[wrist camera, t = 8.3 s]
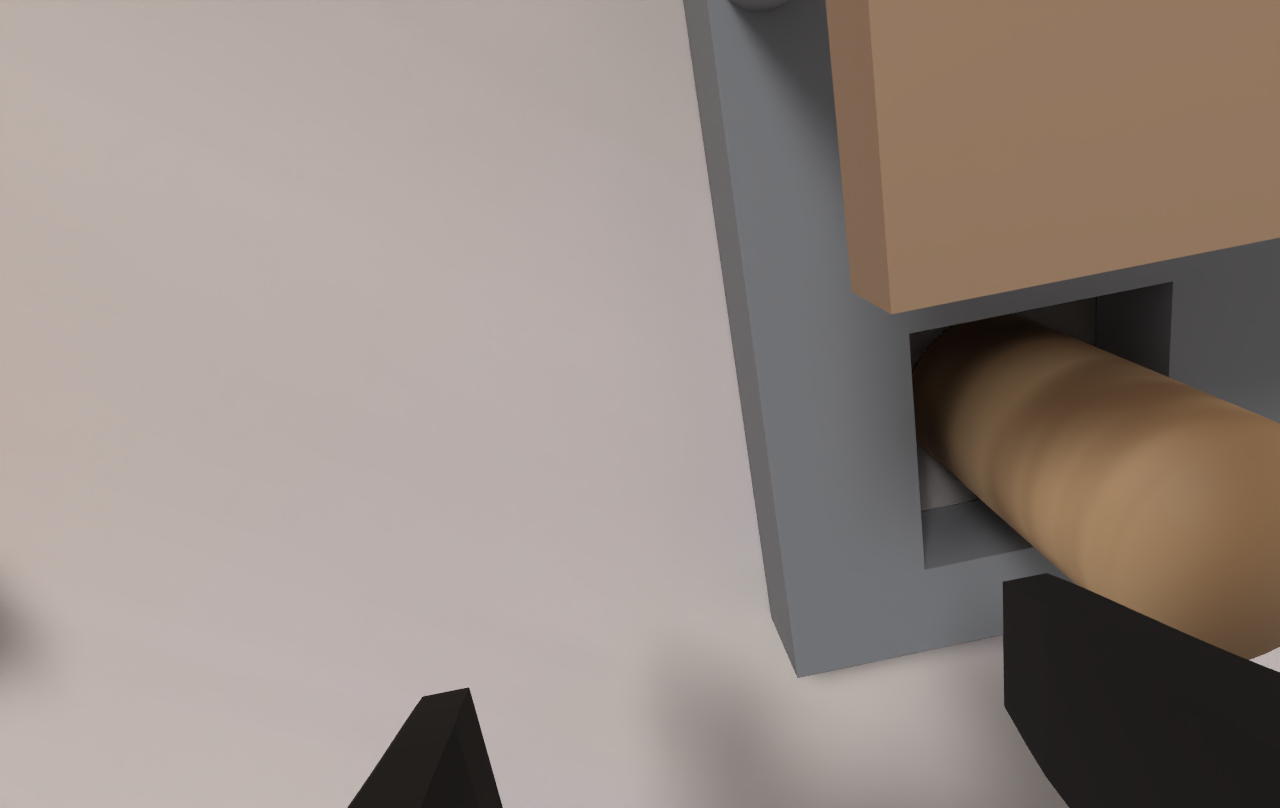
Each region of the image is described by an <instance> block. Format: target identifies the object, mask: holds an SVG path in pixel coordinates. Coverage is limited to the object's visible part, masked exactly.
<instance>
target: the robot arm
mask: <svg viewBox="0 0 1280 808" xmlns="http://www.w3.org/2000/svg"><path fill="white" fill-rule="evenodd" d="M1003 647H1004V706H1005V708H1006V710H1007V712H1008V713H1009V715H1010V717H1011V719H1012V720H1013V722H1014V724H1015V726H1016V727H1017V729H1018V731H1019V733H1020V734H1021V736H1022V738H1023V740H1024V741H1025V743H1026V745H1027V746H1028V748H1029V750H1030V751H1031V753H1032V755H1033V756H1034V758H1035V759H1036V761H1037V763H1038V764H1039V766H1040V768H1041V769H1042V771H1043V773H1044V774H1045V776H1046V777H1047V778H1048V780H1049V781H1050V783H1051V784H1052V785H1053V787H1054V788H1055V789H1056V791H1057V792H1058V793H1059V795H1060V796H1061V797H1062V799H1063V800H1064V801H1065V802H1066V804H1067V805H1068V806H1069V808H1280V672H1277V671H1274V670H1272V669H1269V668H1267V667H1264V666H1262V665H1259V664H1257V663H1254V662H1252V661H1249V660H1247V659H1245V658H1242V657H1240V656H1237V655H1235V654H1233V653H1230V652H1228V651H1225V650H1223V649H1221V648H1218V647H1216V646H1214V645H1211V644H1209V643H1207V642H1204V641H1202V640H1200V639H1197V638H1195V637H1193V636H1191V635H1188V634H1186V633H1184V632H1181V631H1179V630H1177V629H1175V628H1172V627H1170V626H1168V625H1166V624H1163V623H1161V622H1159V621H1157V620H1154V619H1152V618H1150V617H1148V616H1146V615H1143V614H1141V613H1139V612H1137V611H1134V610H1132V609H1130V608H1128V607H1126V606H1123V605H1121V604H1119V603H1117V602H1114V601H1112V600H1110V599H1108V598H1106V597H1103V596H1101V595H1099V594H1096V593H1094V592H1092V591H1090V590H1087V589H1085V588H1083V587H1080V586H1078V585H1076V584H1073V583H1071V582H1069V581H1066V580H1064V579H1061V578H1059V577H1056V576H1053V575H1051V574H1048V573H1044V574H1039V575H1034V576H1029V577H1024V578H1019V579H1014V580H1009V581H1004V582H1003ZM348 808H503V807H502V804H501V800H500V796H499V793H498V789H497V786H496V782H495V779H494V775H493V771H492V768H491V764H490V761H489V757H488V753H487V750H486V746H485V743H484V739H483V736H482V732H481V728H480V725H479V721H478V718H477V714H476V711H475V707H474V703H473V700H472V696H471V693H470V689H469V688H464V689H459V690H454V691H449V692H444V693H439V694H434V695H429V696H424V697H422V699H421V700H420V701H419V703H418V704H417V705H416V707H415V708H414V710H413V711H412V713H411V714H410V716H409V717H408V719H407V720H406V722H405V723H404V725H403V726H402V728H401V729H400V731H399V732H398V734H397V735H396V737H395V738H394V740H393V741H392V743H391V744H390V746H389V747H388V749H387V750H386V752H385V754H384V755H383V757H382V758H381V760H380V761H379V762H378V764H377V765H376V767H375V768H374V770H373V771H372V773H371V774H370V776H369V777H368V779H367V780H366V782H365V783H364V785H363V786H362V788H361V789H360V791H359V792H358V793H357V795H356V796H355V798H354V799H353V801H352V802H351V803H350V805H349V806H348Z"/></svg>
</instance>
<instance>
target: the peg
mask: <svg viewBox="0 0 1280 808" xmlns="http://www.w3.org/2000/svg"><path fill="white" fill-rule="evenodd" d="M912 386H913V401H914V416H915V431H916V439H917V440H918V442H919V444H920V445H921V446H922V447H923V448H924V449H925V450H926V451H927V452H928V453H929V454H930V455H931V456H932V457H934V458H935V459H936V460H937V461H938V462H939V463H940V464H941V465H943V466H944V467H945V468H946V469H947V470H948V471H949V472H950V473H952V474H953V475H954V476H955V477H956V478H957V479H958V480H959V481H960V482H962V483H963V484H964V485H965V486H966V487H967V488H968V489H969V490H971V491H972V492H973V493H974V494H975V495H976V496H977V497H978V498H980V499H981V500H982V501H983V502H984V503H985V504H986V505H987V506H989V507H990V508H991V509H992V510H993V511H994V512H995V513H996V514H997V515H999V516H1000V517H1001V518H1002V519H1003V520H1004V521H1005V522H1006V523H1008V524H1009V525H1010V526H1011V527H1012V528H1013V529H1014V530H1015V531H1017V532H1018V533H1019V534H1020V535H1021V536H1022V537H1023V538H1024V539H1026V540H1027V541H1028V542H1029V543H1030V544H1031V545H1032V546H1033V547H1034V548H1036V549H1037V550H1038V551H1039V552H1040V553H1041V554H1042V555H1043V556H1045V557H1046V558H1047V559H1048V560H1049V561H1050V562H1051V563H1052V564H1054V565H1055V566H1056V567H1057V568H1058V569H1059V570H1060V571H1061V572H1063V573H1064V574H1065V575H1066V576H1067V577H1068V578H1069V579H1070V580H1071V581H1073V582H1074V583H1075V584H1076V585H1078V586H1080V587H1083V588H1085V589H1087V590H1090V591H1092V592H1094V593H1096V594H1099V595H1101V596H1103V597H1106V598H1108V599H1110V600H1112V601H1114V602H1117V603H1119V604H1121V605H1123V606H1126V607H1128V608H1130V609H1132V610H1134V611H1137V612H1139V613H1141V614H1143V615H1146V616H1148V617H1150V618H1152V619H1154V620H1157V621H1159V622H1161V623H1163V624H1166V625H1168V626H1170V627H1172V628H1175V629H1177V630H1179V631H1181V632H1184V633H1186V634H1188V635H1191V636H1193V637H1195V638H1197V639H1200V640H1202V641H1204V642H1207V643H1209V644H1211V645H1214V646H1216V647H1218V648H1221V649H1223V650H1225V651H1228V652H1230V653H1233V654H1235V655H1237V656H1240V657H1242V658H1245V659H1247V660H1249V659H1252V658H1255V657H1258V656H1260V655H1263V654H1266V653H1268V652H1270V651H1272V650H1274V649H1276V648H1278V647H1280V423H1277V422H1275V421H1273V420H1270V419H1268V418H1265V417H1263V416H1261V415H1258V414H1256V413H1253V412H1251V411H1249V410H1246V409H1244V408H1241V407H1239V406H1237V405H1234V404H1232V403H1229V402H1227V401H1225V400H1222V399H1220V398H1217V397H1215V396H1213V395H1210V394H1208V393H1205V392H1203V391H1201V390H1198V389H1196V388H1193V387H1191V386H1189V385H1186V384H1184V383H1181V382H1179V381H1177V380H1174V379H1172V378H1169V377H1167V376H1165V375H1162V374H1160V373H1157V372H1155V371H1153V370H1150V369H1148V368H1145V367H1143V366H1141V365H1138V364H1136V363H1133V362H1131V361H1129V360H1126V359H1124V358H1121V357H1119V356H1117V355H1114V354H1112V353H1109V352H1107V351H1105V350H1102V349H1100V348H1097V347H1095V346H1093V345H1090V344H1088V343H1085V342H1083V341H1081V340H1078V339H1076V338H1073V337H1071V336H1069V335H1066V334H1064V333H1061V332H1059V331H1057V330H1054V329H1052V328H1049V327H1047V326H1045V325H1042V324H1040V323H1037V322H1035V321H1033V320H1030V319H1028V318H1025V317H1022V316H1019V315H1015V314H1006V315H1001V316H996V317H991V318H986V319H981V320H976V321H971V322H966V323H961V324H956V325H955V326H953V327H951V328H950V329H948V330H947V331H946V332H944V333H943V334H942V335H941V336H939V337H938V338H937V339H936V340H935V341H934V342H933V343H932V344H931V345H930V346H929V347H928V349H927V350H926V351H925V353H924V354H923V355H922V357H921V358H920V360H919V362H918V364H917V365H916V367H915V369H914V372H913V374H912Z"/></svg>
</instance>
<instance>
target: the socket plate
mask: <svg viewBox="0 0 1280 808" xmlns="http://www.w3.org/2000/svg"><path fill="white" fill-rule="evenodd" d="M683 2H684V9H685V16H686V23H687V30H688V37H689V44H690V51H691V58H692V65H693V72H694V79H695V86H696V93H697V100H698V107H699V114H700V121H701V128H702V135H703V142H704V149H705V156H706V163H707V170H708V177H709V184H710V191H711V198H712V205H713V212H714V219H715V226H716V233H717V240H718V247H719V254H720V261H721V268H722V275H723V282H724V289H725V296H726V303H727V310H728V317H729V324H730V331H731V338H732V345H733V352H734V359H735V366H736V373H737V380H738V387H739V394H740V401H741V408H742V415H743V422H744V429H745V436H746V443H747V450H748V457H749V464H750V471H751V478H752V485H753V492H754V499H755V506H756V513H757V520H758V527H759V534H760V541H761V548H762V555H763V562H764V569H765V576H766V583H767V590H768V597H769V604H770V611H771V617H772V620H773V622H774V624H775V627H776V629H777V631H778V634H779V636H780V638H781V641H782V643H783V645H784V647H785V650H786V652H787V654H788V657H789V659H790V661H791V664H792V666H793V668H794V671H795V673H796V675H797V678H800V677H805V676H809V675H814V674H819V673H824V672H828V671H833V670H838V669H843V668H847V667H852V666H857V665H862V664H866V663H871V662H876V661H880V660H885V659H890V658H895V657H899V656H904V655H909V654H914V653H918V652H923V651H928V650H933V649H937V648H942V647H947V646H952V645H956V644H961V643H966V642H971V641H975V640H980V639H985V638H989V637H994V636H999V635H1003V582H1004V581H1009V580H1014V579H1019V578H1024V577H1029V576H1034V575H1039V574H1044V573H1048V574H1051V575H1053V576H1056V577H1059V578H1061V579H1064V580H1066V581H1069V582H1071V583H1073V584H1075V583H1074V582H1073V581H1071V580H1070V579H1069V578H1068V577H1067V576H1066V575H1065V574H1064V573H1063V572H1061V571H1060V570H1059V569H1058V568H1057V567H1056V566H1055V565H1054V564H1052V563H1051V562H1050V561H1049V560H1048V559H1047V558H1046V557H1045V556H1043V555H1042V554H1041V553H1040V552H1039V551H1038V550H1037V549H1036V548H1034V547H1033V546H1032V545H1031V544H1030V543H1029V542H1028V541H1027V540H1026V539H1024V538H1023V537H1022V536H1021V535H1020V534H1019V533H1018V532H1017V531H1015V530H1014V529H1013V528H1012V527H1011V526H1010V525H1009V524H1008V523H1006V522H1005V521H1004V520H1003V519H1002V518H1001V517H1000V516H999V515H997V514H996V513H995V512H994V511H993V510H992V509H991V508H990V507H989V506H987V505H986V504H985V503H984V502H983V501H982V500H976V501H971V502H966V503H961V504H956V505H952V506H947V507H942V508H937V509H932V510H927V511H922V512H921V506H920V491H919V476H918V461H917V446H916V431H915V416H914V401H913V386H912V370H911V355H910V340H909V334H910V333H915V332H921V331H926V330H931V329H936V328H941V327H946V326H951V325H956V324H961V323H966V322H971V321H976V320H981V319H986V318H991V317H996V316H1001V315H1006V314H1011V313H1016V312H1021V311H1026V310H1031V309H1036V308H1041V307H1047V306H1052V305H1057V304H1062V303H1067V302H1072V301H1077V300H1082V299H1087V298H1092V297H1097V341H1096V347H1097V348H1100V349H1102V350H1105V351H1107V352H1109V353H1112V354H1114V355H1117V356H1119V357H1121V358H1124V359H1126V360H1129V361H1131V362H1133V363H1136V364H1138V365H1141V366H1143V367H1145V368H1148V369H1150V370H1153V371H1155V372H1157V373H1160V374H1162V375H1165V376H1167V377H1169V378H1172V379H1174V380H1177V381H1179V382H1181V383H1184V384H1186V385H1189V386H1191V387H1193V388H1196V389H1198V390H1201V391H1203V392H1205V393H1208V394H1210V395H1213V396H1215V397H1217V398H1220V399H1222V400H1225V401H1227V402H1229V403H1232V404H1234V405H1237V406H1239V407H1241V408H1244V409H1246V410H1249V411H1251V412H1253V413H1256V414H1258V415H1261V416H1263V417H1265V418H1268V419H1270V420H1273V421H1275V422H1277V423H1280V0H683Z"/></svg>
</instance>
